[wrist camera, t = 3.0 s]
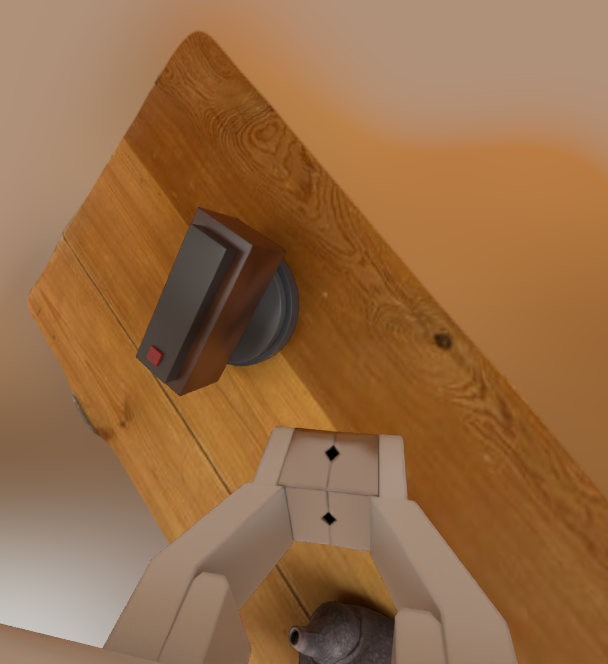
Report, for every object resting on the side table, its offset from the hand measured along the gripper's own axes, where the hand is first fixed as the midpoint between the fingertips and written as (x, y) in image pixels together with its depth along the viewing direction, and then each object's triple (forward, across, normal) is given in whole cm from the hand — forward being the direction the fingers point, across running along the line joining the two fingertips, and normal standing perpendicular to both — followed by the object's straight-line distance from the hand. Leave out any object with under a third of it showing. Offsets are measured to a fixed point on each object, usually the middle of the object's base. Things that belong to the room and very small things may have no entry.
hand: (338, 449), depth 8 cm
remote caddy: (+22, +12, +6) cm, 26 cm away
